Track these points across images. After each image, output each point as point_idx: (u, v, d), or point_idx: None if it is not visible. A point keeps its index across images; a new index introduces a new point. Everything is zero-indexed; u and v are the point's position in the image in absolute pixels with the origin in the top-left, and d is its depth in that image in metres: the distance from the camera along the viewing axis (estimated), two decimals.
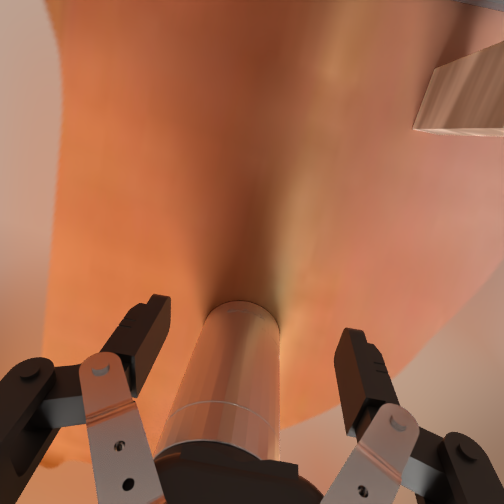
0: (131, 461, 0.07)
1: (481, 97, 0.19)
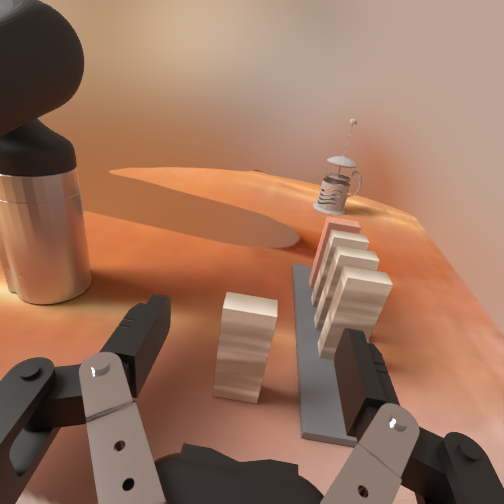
0: (131, 461, 0.07)
1: None
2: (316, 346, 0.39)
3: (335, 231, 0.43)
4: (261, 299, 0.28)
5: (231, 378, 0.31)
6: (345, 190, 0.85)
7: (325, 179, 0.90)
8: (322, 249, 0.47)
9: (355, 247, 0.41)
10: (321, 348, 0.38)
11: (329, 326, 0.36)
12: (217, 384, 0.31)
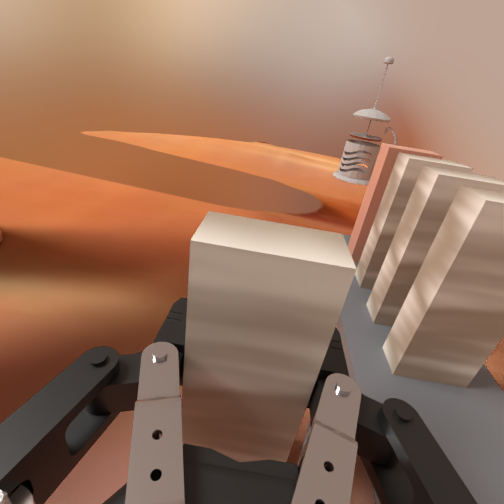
0: (163, 453, 0.07)
1: None
2: (381, 353, 0.21)
3: (407, 154, 0.25)
4: (300, 230, 0.11)
5: (220, 430, 0.13)
6: (375, 152, 0.68)
7: (349, 141, 0.72)
8: (374, 196, 0.30)
9: None
10: (397, 357, 0.20)
11: (420, 314, 0.18)
12: (188, 442, 0.13)
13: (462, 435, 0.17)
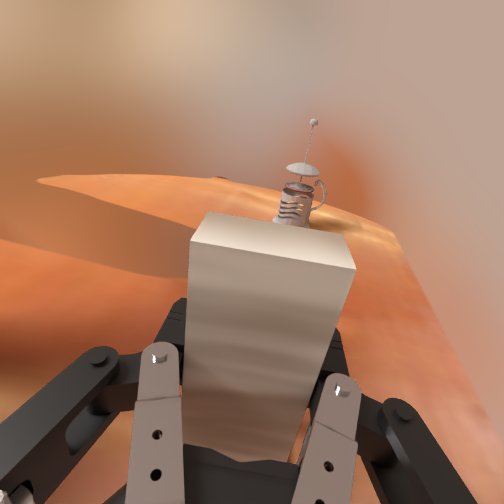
0: (163, 453, 0.07)
1: None
2: None
3: None
4: (300, 230, 0.10)
5: (220, 431, 0.13)
6: (307, 203, 0.73)
7: (286, 189, 0.77)
8: None
9: None
10: None
11: None
12: (188, 442, 0.13)
13: None
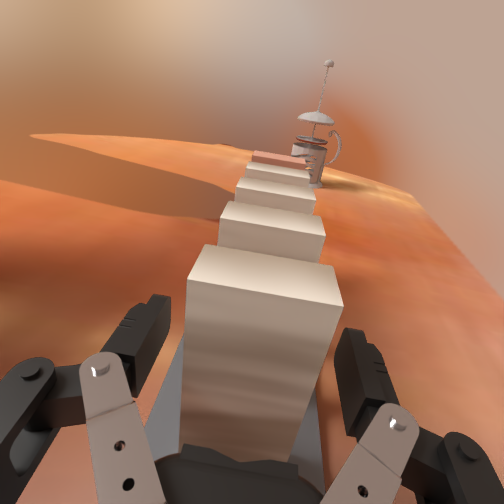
0: (131, 461, 0.07)
1: None
2: None
3: (255, 163, 0.24)
4: (292, 263, 0.11)
5: (217, 450, 0.13)
6: (320, 156, 0.67)
7: (297, 144, 0.72)
8: None
9: None
10: None
11: None
12: None
13: None
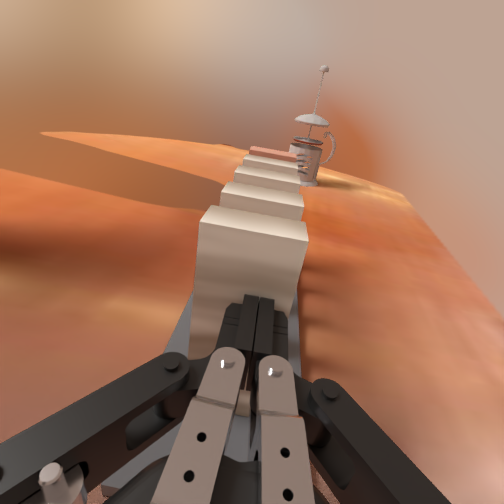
0: (201, 458, 0.07)
1: None
2: None
3: (251, 155, 0.28)
4: (275, 218, 0.15)
5: None
6: (316, 155, 0.71)
7: (294, 144, 0.76)
8: None
9: None
10: None
11: None
12: None
13: None
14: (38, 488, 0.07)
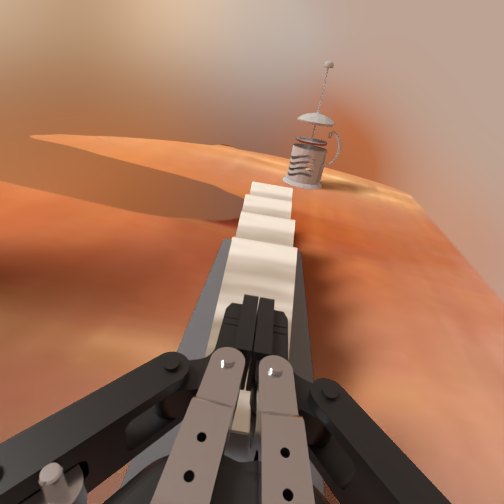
0: (201, 458, 0.07)
1: None
2: None
3: None
4: None
5: None
6: (320, 157, 0.67)
7: (297, 145, 0.72)
8: None
9: (278, 192, 0.35)
10: None
11: None
12: None
13: (237, 459, 0.16)
14: (38, 488, 0.07)
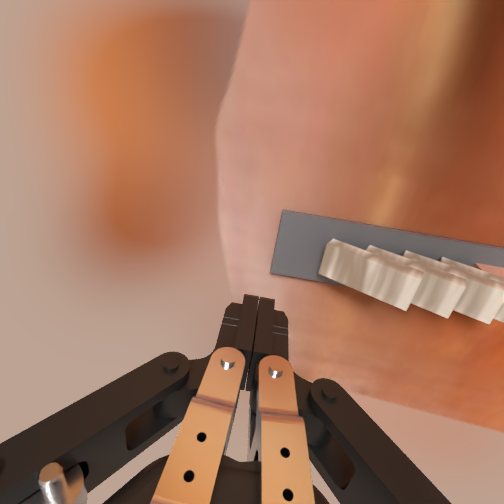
0: (201, 458, 0.07)
1: None
2: (361, 241, 0.43)
3: None
4: None
5: (346, 263, 0.41)
6: None
7: None
8: None
9: None
10: (374, 252, 0.41)
11: (402, 263, 0.39)
12: (340, 251, 0.41)
13: (318, 253, 0.44)
14: (38, 488, 0.07)
